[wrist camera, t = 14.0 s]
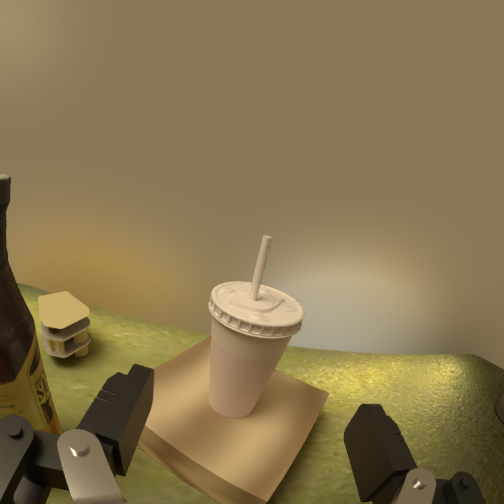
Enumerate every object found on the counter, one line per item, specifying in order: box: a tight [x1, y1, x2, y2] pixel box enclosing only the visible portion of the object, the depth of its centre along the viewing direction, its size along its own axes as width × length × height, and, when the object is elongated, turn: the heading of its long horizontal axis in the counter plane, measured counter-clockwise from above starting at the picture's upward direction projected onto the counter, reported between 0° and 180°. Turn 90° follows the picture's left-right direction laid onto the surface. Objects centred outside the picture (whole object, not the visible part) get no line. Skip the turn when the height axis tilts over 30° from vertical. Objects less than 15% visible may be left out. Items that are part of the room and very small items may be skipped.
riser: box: [137, 336, 329, 504], centre depth 22 cm, size 14×14×4 cm
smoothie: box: [208, 236, 304, 418], centre depth 20 cm, size 6×6×14 cm
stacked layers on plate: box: [38, 291, 91, 358], centre depth 26 cm, size 10×9×6 cm
